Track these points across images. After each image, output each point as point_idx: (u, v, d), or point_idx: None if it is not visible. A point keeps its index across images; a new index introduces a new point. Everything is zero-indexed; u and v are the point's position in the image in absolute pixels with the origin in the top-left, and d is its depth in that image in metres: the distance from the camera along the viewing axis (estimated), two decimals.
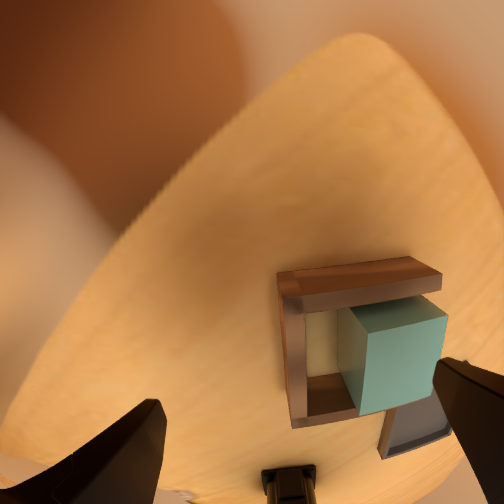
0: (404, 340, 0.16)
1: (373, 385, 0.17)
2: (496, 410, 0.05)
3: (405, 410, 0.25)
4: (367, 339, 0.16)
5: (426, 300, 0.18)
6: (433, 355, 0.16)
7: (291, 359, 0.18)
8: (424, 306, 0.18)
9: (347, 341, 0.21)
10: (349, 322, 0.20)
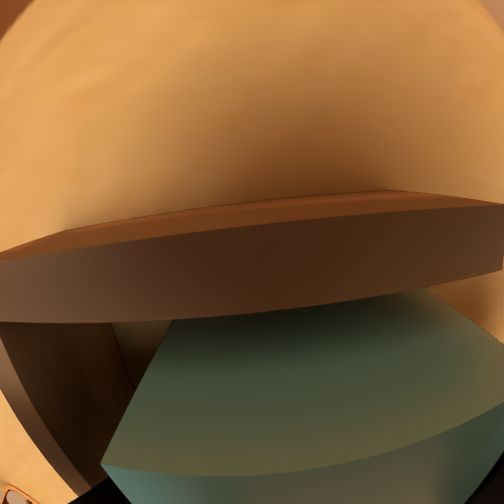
0: None
1: None
2: None
3: None
4: (115, 481, 0.03)
5: (450, 311, 0.05)
6: (452, 500, 0.03)
7: (28, 427, 0.05)
8: (447, 336, 0.04)
9: None
10: None
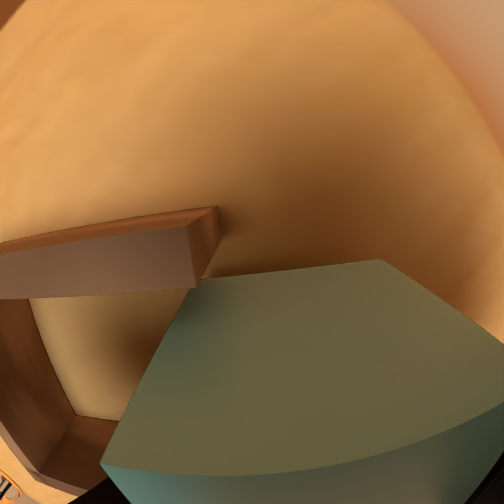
0: None
1: None
2: None
3: None
4: (114, 480, 0.03)
5: (450, 310, 0.05)
6: (452, 500, 0.03)
7: None
8: (447, 335, 0.04)
9: None
10: None
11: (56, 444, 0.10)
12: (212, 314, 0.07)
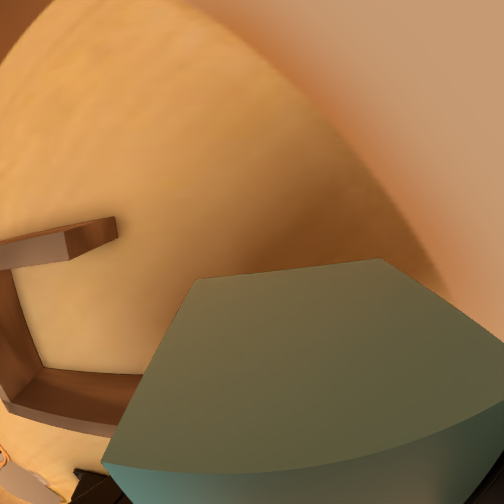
0: (331, 502, 0.03)
1: None
2: None
3: None
4: (115, 479, 0.03)
5: (450, 309, 0.05)
6: (452, 499, 0.03)
7: None
8: (447, 334, 0.04)
9: None
10: None
11: (26, 385, 0.15)
12: (212, 313, 0.07)
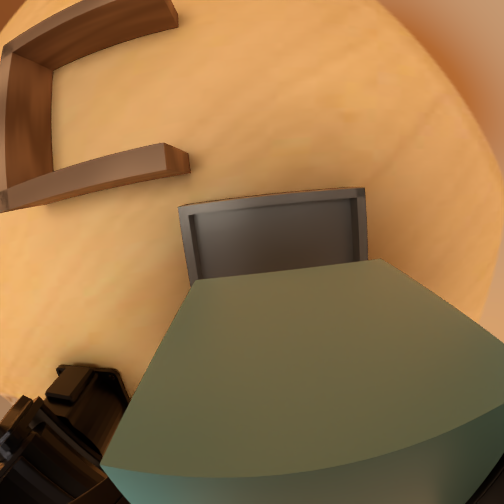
0: None
1: None
2: None
3: (226, 267, 0.17)
4: (115, 482, 0.03)
5: (451, 310, 0.05)
6: (453, 500, 0.03)
7: None
8: (448, 335, 0.04)
9: None
10: None
11: None
12: (212, 314, 0.06)
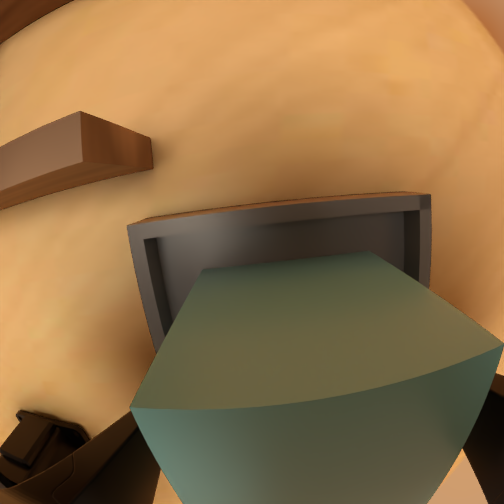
0: (320, 446, 0.04)
1: None
2: (496, 410, 0.05)
3: None
4: (139, 426, 0.04)
5: (425, 292, 0.06)
6: (434, 464, 0.04)
7: None
8: (420, 310, 0.05)
9: None
10: None
11: None
12: (219, 295, 0.08)
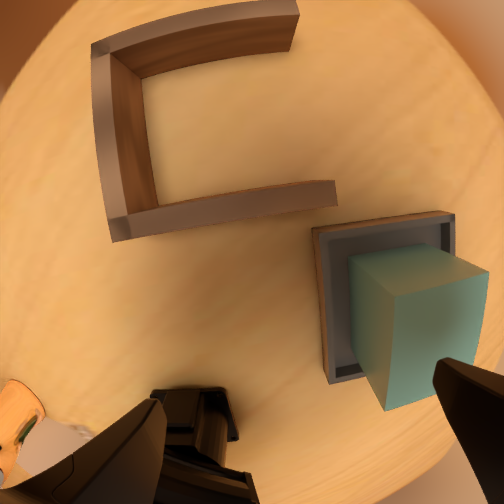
0: (441, 305, 0.12)
1: (402, 369, 0.12)
2: (496, 410, 0.05)
3: None
4: (394, 305, 0.12)
5: (458, 258, 0.14)
6: (473, 326, 0.12)
7: (96, 109, 0.12)
8: (458, 264, 0.13)
9: (364, 316, 0.16)
10: (366, 290, 0.15)
11: (143, 209, 0.16)
12: (376, 266, 0.16)
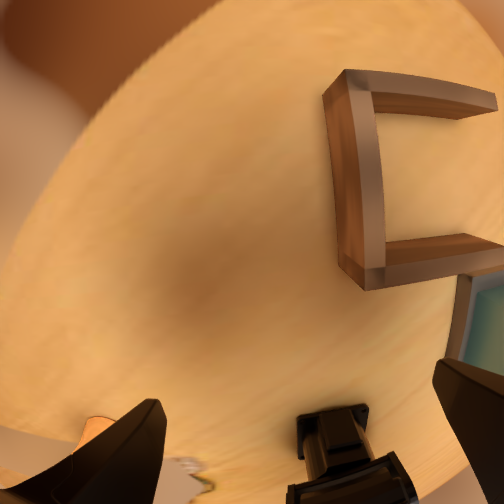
0: None
1: None
2: (496, 410, 0.05)
3: None
4: None
5: None
6: None
7: (362, 152, 0.13)
8: None
9: (491, 337, 0.17)
10: (498, 319, 0.16)
11: None
12: (503, 301, 0.17)
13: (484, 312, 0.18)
